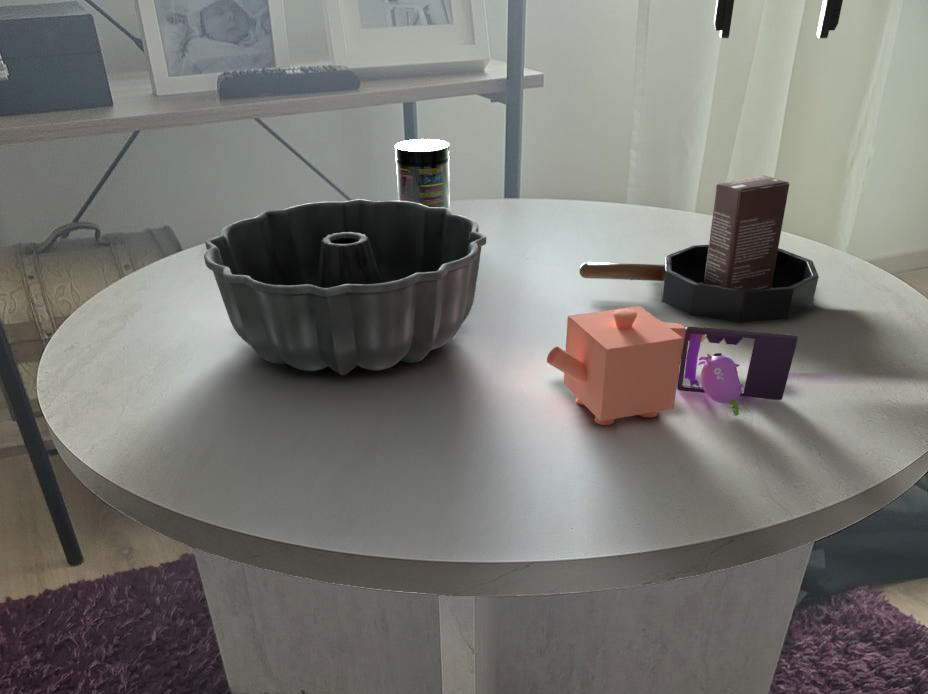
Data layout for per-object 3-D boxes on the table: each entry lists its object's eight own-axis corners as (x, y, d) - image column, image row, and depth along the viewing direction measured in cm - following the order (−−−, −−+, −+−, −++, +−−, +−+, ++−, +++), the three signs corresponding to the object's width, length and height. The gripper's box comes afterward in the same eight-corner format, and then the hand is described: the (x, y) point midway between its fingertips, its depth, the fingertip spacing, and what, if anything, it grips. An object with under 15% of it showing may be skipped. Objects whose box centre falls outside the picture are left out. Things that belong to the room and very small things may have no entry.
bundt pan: (412, 418, 78) (406, 301, 72) (166, 370, 87) (141, 262, 81) (523, 314, 97) (526, 213, 90) (310, 283, 105) (299, 190, 99)
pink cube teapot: (528, 399, 81) (532, 306, 75) (652, 380, 83) (663, 288, 78) (563, 438, 75) (569, 340, 70) (694, 416, 77) (709, 319, 72)
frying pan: (798, 282, 102) (806, 244, 100) (816, 335, 90) (826, 294, 88) (581, 274, 106) (584, 238, 103) (572, 324, 94) (574, 285, 91)
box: (742, 293, 100) (764, 173, 92) (769, 306, 97) (794, 183, 89) (696, 302, 98) (715, 180, 91) (722, 315, 95) (743, 190, 87)
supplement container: (461, 232, 120) (460, 144, 113) (424, 244, 116) (421, 153, 109) (425, 223, 123) (422, 136, 117) (388, 234, 120) (383, 145, 113)
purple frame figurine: (799, 329, 74) (686, 320, 76) (794, 373, 72) (678, 363, 74) (782, 391, 80) (678, 381, 82) (777, 434, 77) (670, 422, 80)
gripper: (724, -206, 70) (693, 43, 81) (920, -215, 68) (862, 43, 79) (719, -200, 76) (690, 33, 86) (900, -207, 74) (848, 32, 84)
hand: (772, 37), depth 82 cm, fingers open, 8 cm apart
